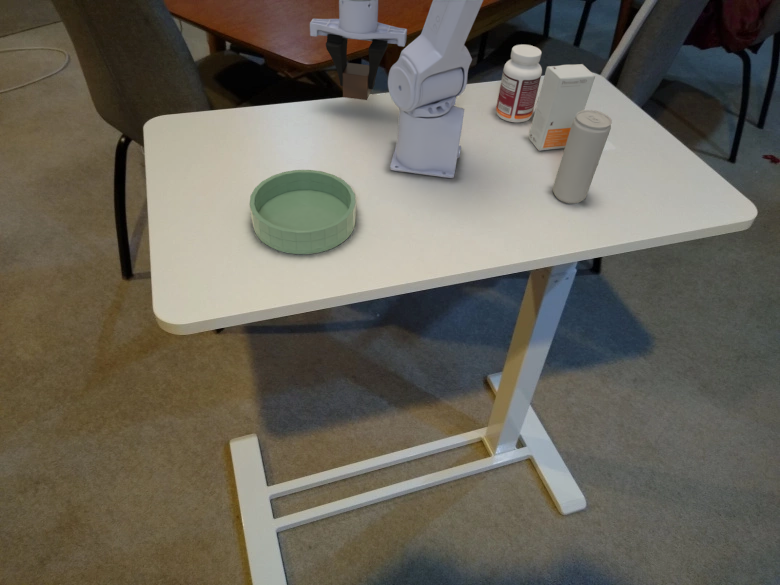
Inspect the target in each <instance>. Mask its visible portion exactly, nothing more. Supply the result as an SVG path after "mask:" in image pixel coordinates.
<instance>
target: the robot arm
mask: <svg viewBox="0 0 780 585" xmlns="http://www.w3.org/2000/svg"><path fill="white" fill-rule="evenodd" d="M483 2H484V0H432V2H431V4H430V7H429V10H428V13H427V16H426V19H425V22H424V23H423V24H424V25H423V28H422V30H421V33H420V34H419V35H418V36H417V37H416V38H415V39H414V40H412V41H411V42H410V43H408V45H407V46H406V43H407V35H408V34H407V33H408V29H407V28H404V27H397V26H393V25H389V24H385V23H382V22H379V0H338V18H312V19H311V21H310V22H309V36H310V37H319V36H322V37H323V36H324V37H326V42H325V48H326V51H327V53H328V54H329V56H330V58H331V60H332V62H333V64H334V66H335V69H336V72H337V75H338V80H339V86H341V87H343V72H344V70H345V68H346V66H347V64H348V62H347V55H348V39H349V40H357V41H367V42H371V43H370V45H369V47H368V50H367V51H368V62H369V63H368V65H369V80H368V84H369V89H372V90H374V88H375V85H376V77H377V73H378V70H379V66H380V63H381V61H382V59H383V57H384V55H385V53H386V51H387V48H388V47H389V44H394V45H397V46H398V47H405V48H403V49H402V50H401V52H400V55H399V58H398V59H397V61H396V62H395V63H393V64H392V66H391V67H390V69H389V72H388V77H387V89H388V92H389V96H390V98H391V101H392V102H393V103H394V105H395V106H396V107H397V108H398V123H397V124H398V125H397V137H396V138H397V140H396V143H395V148H394V150H393V155H392V158H391V162H390V164H389V170H391V171H395V172H403V173H409V174H416V175H425V176H433V177H440V178H448V179H454V178H455V174H456V167H457V161H458V159H460V157H461V151H462V150H461V149H462V145H460V144H461V143H460V142H461V136H462V129H463V122H464V116H465V108H464V107H459V106H456V102H457V97H459V96H461V95H462V94H463V93H464V92H465V90H466V88H467V86H468V77H469V76H468V75H469V74H468V73H469V70H470V66H471V63H472V61H473V58H472V56H471V53H470V51H469V49H468V47H467V46H466V45H465V44H466V41H467V39H468V37H469V34H470V32H471V30H472V28H473V25H474V24H475V21H476V18H477V16H478V14H479V11H480V9H481V7H482V4H483Z"/></svg>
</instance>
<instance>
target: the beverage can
mask: <svg viewBox="0 0 780 585" xmlns="http://www.w3.org/2000/svg"><path fill="white" fill-rule="evenodd" d="M612 121H613V119H612V118H611V117H610V116H609V115H608V114H606V113H604V112H602V111H598V110H593V109H584V110H582V111H579V112H578V113H577V114H576V117H575V118H574V120H573V123H572V126H571V129H570V133H569V136H568V139H567V142H566V146H565V148H563V153H562V155H561V158H560V162H559V166H558V170H557V173H556V176H555V180H554V183H553V186H552V192H553V195H554V196H555V197H556V199H557V200H559V201H561V202H562V203H566V204H578V203H581V202H582V201H584V200H585V199H586V198H587V196H588V193H589V190H590V188H591V184H592V183H593V182H592V181H593V179H594V176H595V174H596V171H597V168H598V166H599V163H600V159H601V157H602V154H603V151H604V149H605V146H606V143H607V141H608V138H609V135H610V132H611V129H612V123H613V122H612Z"/></svg>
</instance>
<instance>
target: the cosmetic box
mask: <svg viewBox="0 0 780 585" xmlns="http://www.w3.org/2000/svg"><path fill="white" fill-rule="evenodd" d="M544 72H545V73H544V77H543V80H542V84H541V87H540V91H539V95H538V99H537V103H536V107H535V110H534V114H533V118H532V122H531V125H530V129H529V132H528V139H529V141H530V142H531V143H532V144H533V145H534V146H535V148H536V149H537V151H539V152H540V151H547V150H548V151H549V150H557V149H565V146H566V142H567V139H568V136H569V133H570V129H571V126H572V123H573V120H574V118H575V117H576V114H577V113H578V112H579V111H582V110H586V106H587V103H588V100H589V97H590V94H591V90H592V88H593V86H594V82H595V79H596V75H595V74H594V73H593V72H592V71H591V70H589V69H588V68H587V67H586V66H585V65H584V63H580V64H561V65H551V66H550V65H549V66H546V69H545V71H544Z"/></svg>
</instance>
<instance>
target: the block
mask: <svg viewBox="0 0 780 585" xmlns="http://www.w3.org/2000/svg"><path fill="white" fill-rule="evenodd" d="M368 80H369V64H361V63H354V62H347V66H346V68H345V70H344V72H343V86H342V98H345V99H354V100H361V101H368V100H369V96H370V94H371V92H372V90H373V89H369V84H368Z"/></svg>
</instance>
